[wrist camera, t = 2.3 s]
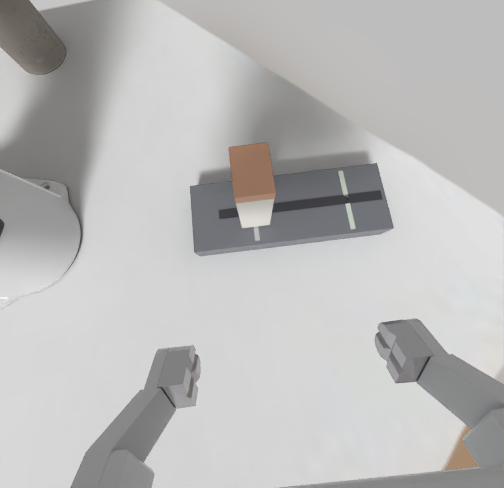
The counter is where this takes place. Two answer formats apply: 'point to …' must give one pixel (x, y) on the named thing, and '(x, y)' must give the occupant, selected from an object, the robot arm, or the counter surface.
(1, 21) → the thermos bottle
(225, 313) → the counter surface
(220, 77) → the counter surface
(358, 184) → the fader console
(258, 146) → the fader
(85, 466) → the robot arm
